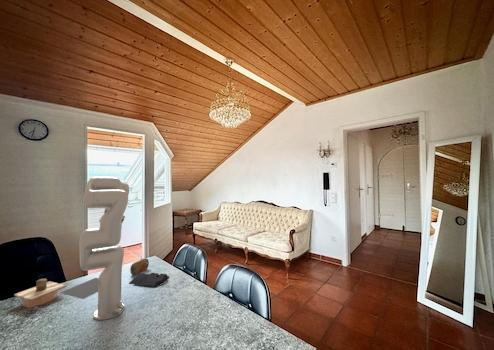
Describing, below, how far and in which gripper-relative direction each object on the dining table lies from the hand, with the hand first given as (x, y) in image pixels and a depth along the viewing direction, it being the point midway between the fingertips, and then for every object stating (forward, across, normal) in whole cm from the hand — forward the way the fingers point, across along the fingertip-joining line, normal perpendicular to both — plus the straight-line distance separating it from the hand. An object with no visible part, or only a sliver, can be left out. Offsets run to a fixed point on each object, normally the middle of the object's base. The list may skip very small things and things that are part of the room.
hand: (112, 230), depth 135 cm
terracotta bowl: (+32, -28, +16) cm, 46 cm away
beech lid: (+27, -28, +16) cm, 42 cm away
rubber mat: (+32, -11, +4) cm, 34 cm away
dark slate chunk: (+33, +7, -23) cm, 41 cm away
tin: (+32, +16, -6) cm, 37 cm away
